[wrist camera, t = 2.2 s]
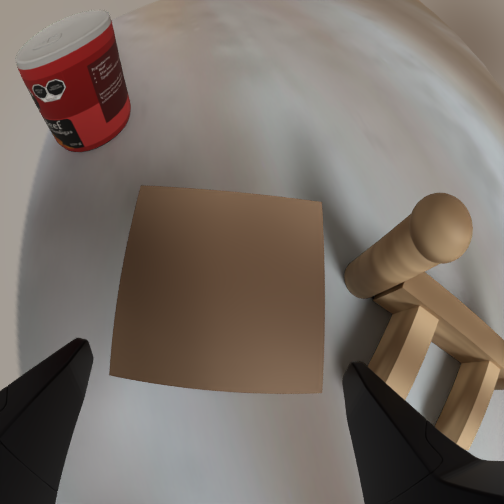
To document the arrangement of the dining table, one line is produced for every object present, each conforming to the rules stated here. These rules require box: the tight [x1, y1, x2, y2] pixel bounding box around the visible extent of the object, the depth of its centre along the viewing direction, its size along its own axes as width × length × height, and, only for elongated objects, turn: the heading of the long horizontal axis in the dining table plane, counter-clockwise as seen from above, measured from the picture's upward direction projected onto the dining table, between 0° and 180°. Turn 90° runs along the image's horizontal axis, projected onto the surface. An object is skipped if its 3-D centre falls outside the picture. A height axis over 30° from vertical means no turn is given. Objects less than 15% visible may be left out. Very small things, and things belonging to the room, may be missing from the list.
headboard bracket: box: [344, 193, 504, 450], centre depth 13 cm, size 10×21×11 cm, turn 57°
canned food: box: [15, 10, 131, 152], centre depth 18 cm, size 8×8×11 cm
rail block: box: [109, 185, 325, 394], centre depth 12 cm, size 5×5×13 cm
